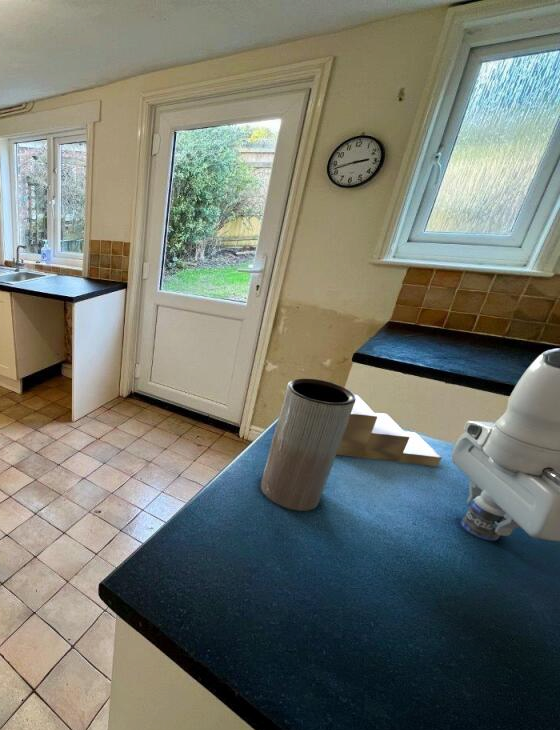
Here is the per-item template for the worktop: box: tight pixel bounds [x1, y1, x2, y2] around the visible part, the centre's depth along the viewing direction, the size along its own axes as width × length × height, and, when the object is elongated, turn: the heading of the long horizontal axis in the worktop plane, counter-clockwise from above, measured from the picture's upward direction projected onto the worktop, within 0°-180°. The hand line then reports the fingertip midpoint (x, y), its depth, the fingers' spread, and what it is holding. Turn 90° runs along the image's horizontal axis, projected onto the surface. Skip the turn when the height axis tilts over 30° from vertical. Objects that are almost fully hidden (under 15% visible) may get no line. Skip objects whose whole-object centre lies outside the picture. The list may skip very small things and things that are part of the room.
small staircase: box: [336, 394, 443, 467], centre depth 91 cm, size 21×10×11 cm, turn 76°
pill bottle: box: [460, 490, 506, 541], centre depth 69 cm, size 5×5×8 cm
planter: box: [260, 378, 356, 512], centre depth 75 cm, size 10×10×23 cm
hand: (485, 518), depth 70 cm, fingers closed on pill bottle, 5 cm apart
